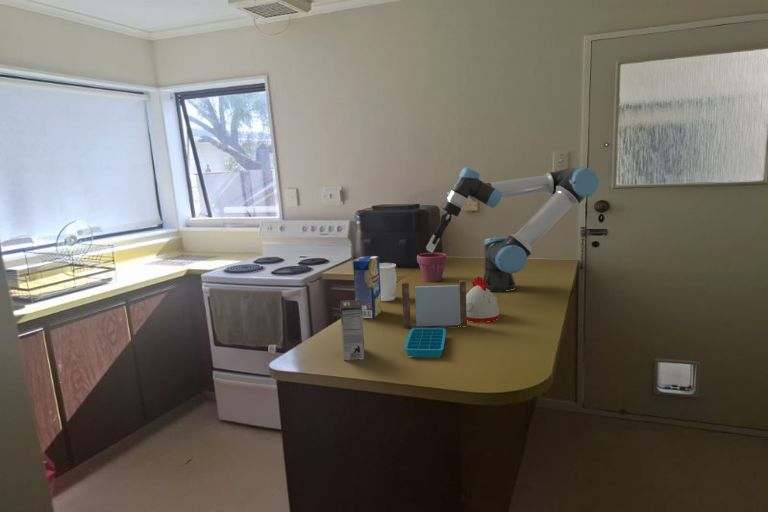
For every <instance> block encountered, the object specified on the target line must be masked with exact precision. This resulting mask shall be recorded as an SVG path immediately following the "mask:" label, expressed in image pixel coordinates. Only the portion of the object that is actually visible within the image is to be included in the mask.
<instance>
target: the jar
mask: <svg viewBox="0 0 768 512" xmlns="http://www.w3.org/2000/svg"><path fill="white" fill-rule="evenodd" d="M379 267H380V287H381V302H390V301H394V300H395V299H396V297H395V293H396V290H397V280H398V278H397V272H396V271H397V270H396V267H397V264H396V263H392V262H379Z"/></svg>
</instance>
